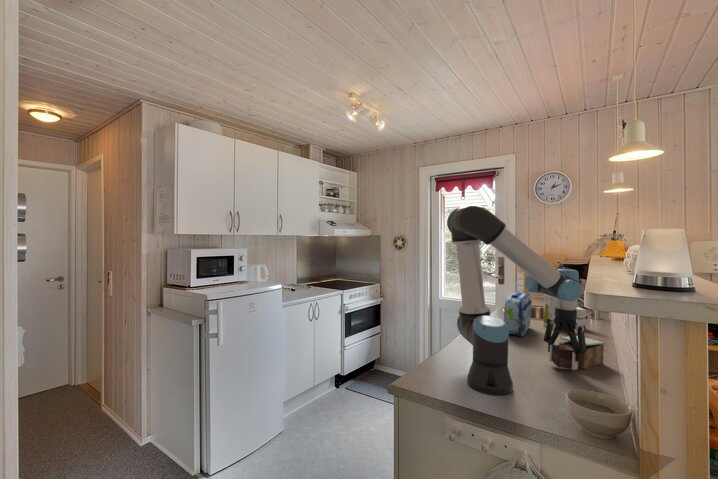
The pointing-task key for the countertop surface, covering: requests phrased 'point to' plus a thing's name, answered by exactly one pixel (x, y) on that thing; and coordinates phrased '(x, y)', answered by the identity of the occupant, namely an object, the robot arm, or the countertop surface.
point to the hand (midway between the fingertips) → (563, 364)
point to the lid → (587, 340)
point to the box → (562, 356)
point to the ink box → (581, 317)
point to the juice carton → (549, 308)
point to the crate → (589, 355)
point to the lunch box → (518, 313)
